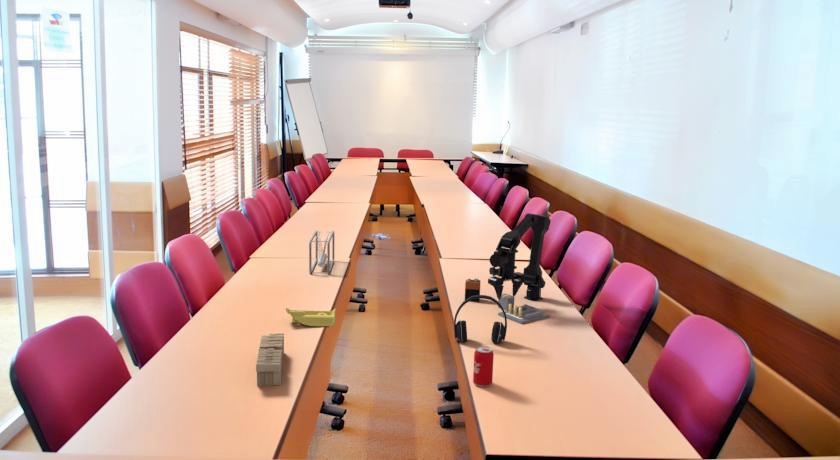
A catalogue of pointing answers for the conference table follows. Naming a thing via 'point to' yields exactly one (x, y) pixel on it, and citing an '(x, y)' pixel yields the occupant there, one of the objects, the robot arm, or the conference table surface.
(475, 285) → the battery
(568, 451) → the conference table surface
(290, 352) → the conference table surface
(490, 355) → the beverage can
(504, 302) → the plug
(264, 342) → the block tower
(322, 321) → the plastic component
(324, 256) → the newton's cradle
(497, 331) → the headphones
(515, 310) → the header socket
